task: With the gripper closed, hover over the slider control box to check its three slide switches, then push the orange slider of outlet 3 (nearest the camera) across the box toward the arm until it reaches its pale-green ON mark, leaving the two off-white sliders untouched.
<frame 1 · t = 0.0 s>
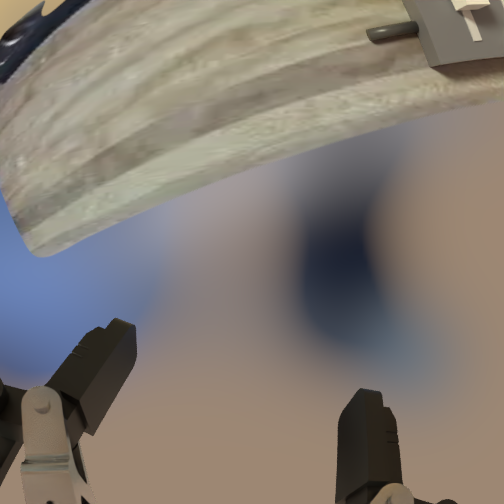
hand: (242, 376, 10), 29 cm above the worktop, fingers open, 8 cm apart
slider control box: (497, 20, 21), on the worktop
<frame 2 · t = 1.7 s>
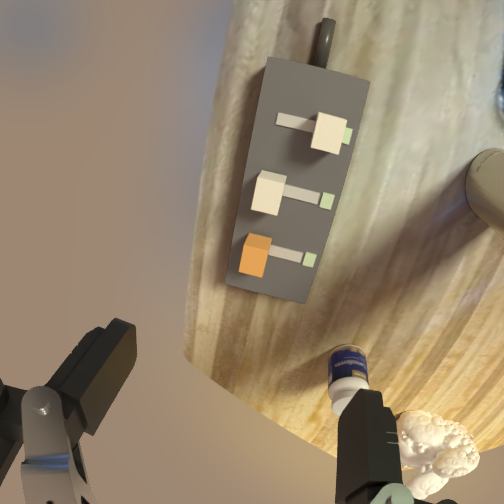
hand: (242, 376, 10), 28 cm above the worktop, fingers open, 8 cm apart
switch 3: (255, 254, 34), point 6 cm above the worktop, slide at 0.0 cm
switch 2: (269, 192, 31), point 6 cm above the worktop, slide at 0.0 cm
white plaster sculpture: (427, 425, 52), on the worktop
pill bottle: (346, 355, 46), on the worktop
slider control box: (292, 182, 35), on the worktop
switch 1: (328, 132, 27), point 6 cm above the worktop, slide at 4.0 cm
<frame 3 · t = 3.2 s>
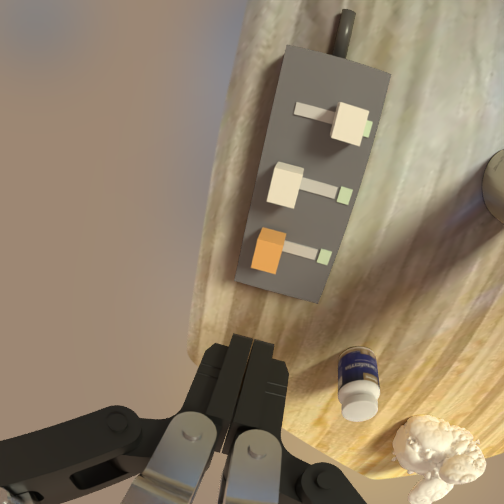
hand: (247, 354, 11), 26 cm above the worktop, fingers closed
switch 3: (268, 250, 32), point 5 cm above the worktop, slide at 0.0 cm
switch 2: (285, 184, 29), point 5 cm above the worktop, slide at 0.0 cm
white plaster sculpture: (433, 431, 50), on the worktop
pill bottle: (356, 357, 44), on the worktop
slider control box: (308, 176, 34), on the worktop
switch 1: (348, 123, 25), point 6 cm above the worktop, slide at 4.0 cm
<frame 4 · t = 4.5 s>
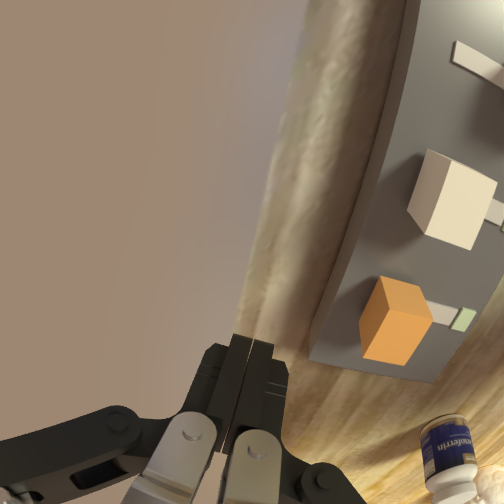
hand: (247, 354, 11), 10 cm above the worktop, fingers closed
switch 3: (393, 321, 15), point 5 cm above the worktop, slide at 0.0 cm
switch 2: (450, 196, 12), point 5 cm above the worktop, slide at 0.0 cm
white plaster sculpture: (492, 476, 33), on the worktop
pill bottle: (442, 425, 27), on the worktop
slider control box: (443, 181, 17), on the worktop
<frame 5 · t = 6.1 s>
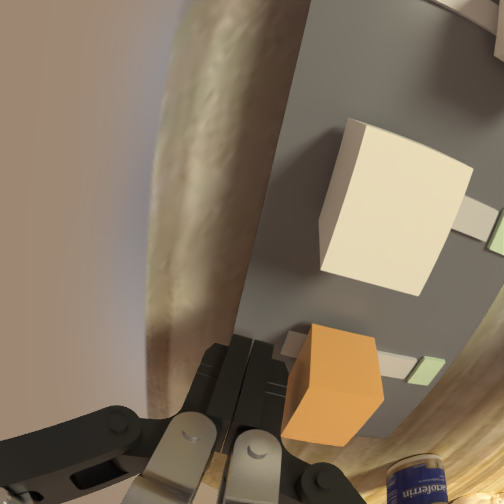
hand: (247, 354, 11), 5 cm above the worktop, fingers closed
switch 3: (329, 388, 11), point 6 cm above the worktop, slide at 1.0 cm, touching gripper
switch 2: (384, 198, 7), point 5 cm above the worktop, slide at 0.0 cm
white plaster sculpture: (477, 500, 29), on the worktop
pill bottle: (413, 463, 22), on the worktop
slider control box: (399, 173, 12), on the worktop
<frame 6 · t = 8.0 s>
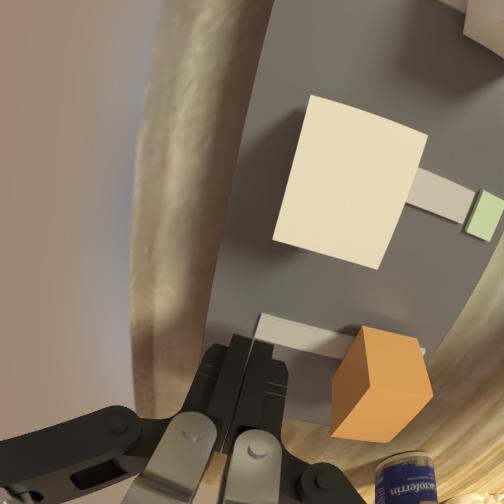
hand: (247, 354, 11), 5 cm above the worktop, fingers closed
switch 3: (377, 387, 11), point 6 cm above the worktop, slide at 4.1 cm
switch 2: (343, 172, 8), point 6 cm above the worktop, slide at 0.0 cm
white plaster sculpture: (471, 501, 29), on the worktop
pill bottle: (403, 461, 23), on the worktop
slider control box: (375, 158, 12), on the worktop
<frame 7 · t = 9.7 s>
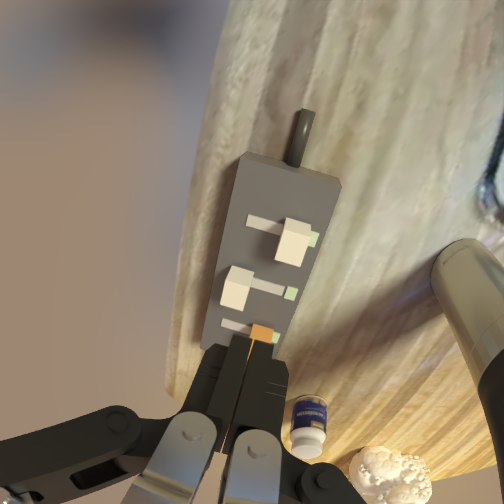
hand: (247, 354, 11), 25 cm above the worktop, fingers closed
switch 3: (258, 343, 37), point 5 cm above the worktop, slide at 4.1 cm
switch 2: (237, 288, 34), point 5 cm above the worktop, slide at 0.0 cm
white plaster sculpture: (388, 457, 57), on the worktop
pill bottle: (310, 402, 50), on the worktop
slider control box: (262, 267, 39), on the worktop
switch 1: (293, 241, 30), point 6 cm above the worktop, slide at 4.0 cm
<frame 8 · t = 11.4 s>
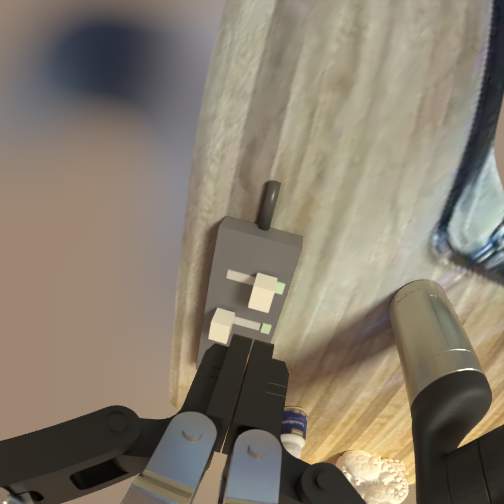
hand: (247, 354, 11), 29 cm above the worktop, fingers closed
switch 3: (241, 367, 45), point 6 cm above the worktop, slide at 4.1 cm
switch 2: (221, 325, 42), point 6 cm above the worktop, slide at 0.0 cm
white plaster sculpture: (371, 460, 63), on the worktop
pill bottle: (293, 412, 57), on the worktop
slider control box: (244, 306, 47), on the worktop
switch 1: (262, 292, 38), point 6 cm above the worktop, slide at 4.0 cm
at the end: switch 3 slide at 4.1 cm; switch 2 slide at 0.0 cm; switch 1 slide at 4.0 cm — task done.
